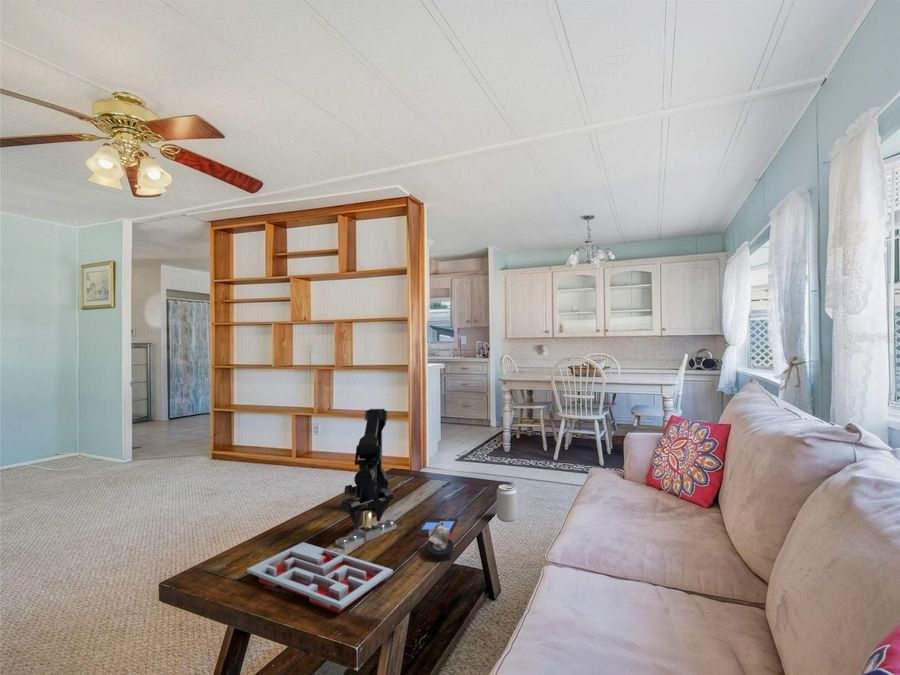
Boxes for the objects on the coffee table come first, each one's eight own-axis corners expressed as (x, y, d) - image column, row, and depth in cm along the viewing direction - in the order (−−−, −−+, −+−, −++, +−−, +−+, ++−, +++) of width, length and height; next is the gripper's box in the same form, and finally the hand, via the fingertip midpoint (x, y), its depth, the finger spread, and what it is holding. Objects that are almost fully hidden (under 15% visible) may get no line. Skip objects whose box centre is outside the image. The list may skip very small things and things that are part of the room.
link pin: (368, 533, 152) (368, 509, 152) (373, 535, 150) (373, 511, 150) (361, 536, 149) (361, 512, 150) (366, 538, 147) (366, 514, 148)
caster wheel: (441, 571, 130) (417, 556, 137) (465, 551, 138) (442, 537, 145) (440, 552, 129) (416, 537, 135) (465, 532, 137) (441, 519, 143)
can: (510, 524, 160) (510, 490, 160) (492, 519, 164) (492, 487, 165) (520, 518, 166) (520, 485, 166) (503, 513, 170) (503, 482, 171)
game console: (426, 521, 164) (426, 515, 164) (459, 524, 161) (459, 518, 161) (414, 537, 150) (414, 530, 150) (450, 541, 147) (450, 534, 147)
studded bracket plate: (387, 523, 160) (387, 516, 160) (398, 528, 156) (398, 520, 156) (333, 544, 143) (333, 536, 143) (344, 550, 139) (344, 542, 139)
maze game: (392, 581, 121) (392, 569, 121) (341, 619, 103) (341, 605, 104) (302, 552, 138) (302, 542, 138) (246, 580, 121) (246, 568, 121)
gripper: (374, 469, 162) (373, 512, 162) (330, 480, 148) (330, 527, 148) (394, 474, 155) (394, 519, 155) (350, 487, 141) (350, 536, 140)
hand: (367, 525), depth 150 cm, fingers open, 9 cm apart
